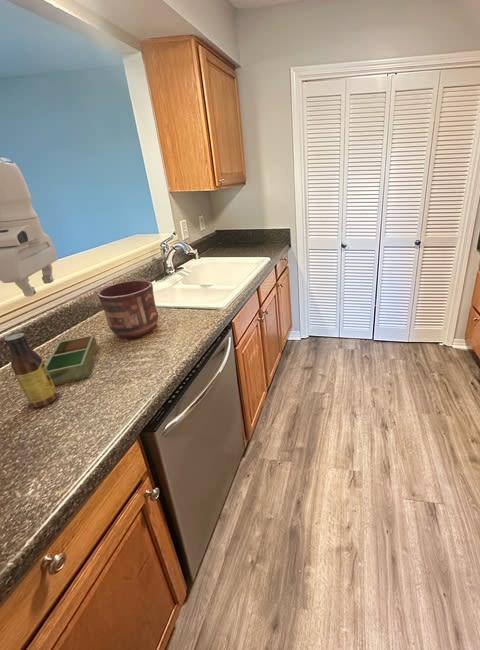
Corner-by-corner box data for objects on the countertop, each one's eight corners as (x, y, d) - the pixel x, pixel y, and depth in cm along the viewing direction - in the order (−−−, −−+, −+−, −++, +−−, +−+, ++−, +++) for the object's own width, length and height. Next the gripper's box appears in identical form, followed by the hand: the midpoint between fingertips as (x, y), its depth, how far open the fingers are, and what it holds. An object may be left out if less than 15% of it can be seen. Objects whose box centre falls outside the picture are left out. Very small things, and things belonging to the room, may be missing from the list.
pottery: (159, 338, 118) (148, 292, 111) (106, 347, 114) (91, 300, 106) (164, 318, 133) (154, 277, 126) (117, 325, 129) (105, 283, 122)
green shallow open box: (46, 387, 93) (39, 374, 91) (63, 354, 111) (58, 341, 109) (88, 377, 97) (83, 364, 95) (98, 346, 114) (94, 334, 112)
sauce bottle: (63, 397, 89) (36, 333, 81) (37, 411, 84) (5, 345, 76) (51, 390, 92) (24, 328, 84) (25, 403, 87) (-6, 339, 79)
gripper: (26, 226, 83) (45, 277, 88) (-27, 242, 64) (1, 305, 70) (54, 224, 84) (71, 274, 89) (10, 239, 66) (35, 301, 71)
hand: (40, 288), depth 79 cm, fingers open, 8 cm apart
